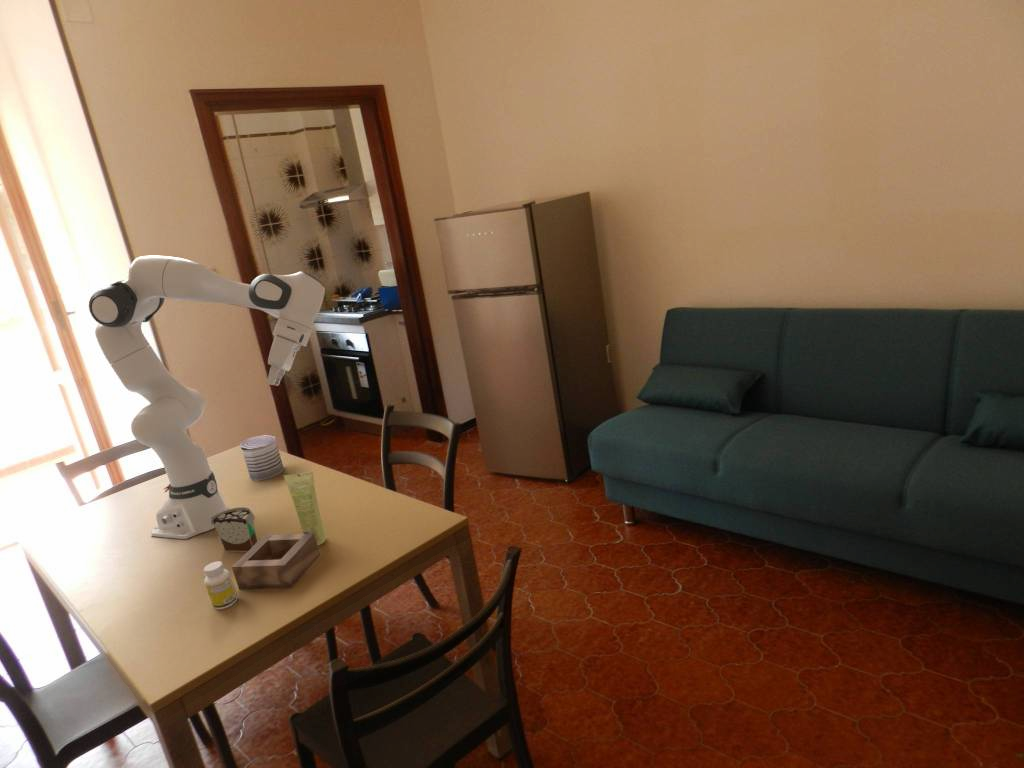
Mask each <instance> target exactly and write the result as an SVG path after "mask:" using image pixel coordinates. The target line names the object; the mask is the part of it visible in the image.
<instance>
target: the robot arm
mask: <svg viewBox="0 0 1024 768" xmlns="http://www.w3.org/2000/svg"><path fill="white" fill-rule="evenodd" d="M325 292H326V287H325V285H324V283H323V282H322V281H321V280H319V279H318V278H316V277H315V276H313V275H312V274H310V273H308V272H305V271H298V272H296V273H292V274H271V273H262V274H260V275H258V276H256V277H255V278H254V279H253V280H252V281H251V283H250V284H249V283H245V282H239V281H235V280H233V279H232V280H231V279H230V278H227V277H225V276H223V275H221V274H219V273H217V272H216V271H214V270H213V269H211V268H209V267H207V266H205V265H203V264H201V263H199V262H196V261H193V260H190V259H187V258H186V259H185V258H181V257H175V256H167V255H143V256H142V255H141V256H139V257H136V258H135V259H134V260H133V261H132V262H131V264H130V265H129V269H128V276H127V278H126V279H123V280H118V281H114V282H111V283H110V284H108V285H104V286H103V287H101V288H99V289H98V290H97V291H95V292H94V293H93V294H92V295H91V296H90V299H89V301H88V309H89V312H90V313H89V314H90V315H91V317H92V318H93V319H94V321H96V322H97V323H98V325H97V326H96V328H95V331H94V333H95V334H94V335H95V338H96V339H97V342H98V345H99V347H100V349H101V351H102V353H103V355H104V357H105V359H106V360H107V361H108V363H109V364H110V366H111V368H112V370H113V371H114V372H115V374H116V375H117V377H118V379H119V381H120V382H121V383H122V384H123V386H124V387H125V389H127V390H128V391H130V392H133V393H135V394H136V393H137V394H139V395H140V396H142V397H143V398H144V399H146V400H147V401H148V402H149V404H148V405H146V406H144V407H143V408H142V409H141V410H140V411H139V412H138V413H137V414H136V415H135V417H134V418H132V419H133V420H132V421H131V427H130V428H131V433H132V435H133V437H134V439H136V440H137V441H138V443H140V444H141V445H144V446H147V447H149V448H151V449H152V450H153V452H155V453H156V455H157V457H158V458H159V459H160V461H161V463H162V465H163V467H164V470H165V473H166V475H167V479H168V481H169V483H168V485H167V486H166V487H164V488H163V490H164V493H166V492H168V497H167V499H166V500H165V501H164V503H162V505H161V506H160V508H159V509H158V510H157V511H156V515H155V517H156V523H157V524H156V526H155V527H153V528H152V530H151V533H150V534H151V537H157V538H158V537H159V538H167V539H180V540H187V539H191V538H193V537H195V536H196V535H199V534H202V533H205V532H208V531H211V530H214V529H215V526H214V524H213V525H212V523H211V520H212V519H211V517H213V516H215V515H216V514H218V513H221V512H223V511H226V510H229V508H228V506H227V504H226V502H225V501H224V499H223V497H222V495H221V493H220V490H219V489H218V484H217V479H216V476H215V473H214V472H213V470H212V469H211V466H210V464H209V461H208V458H207V455H206V452H205V449H204V447H203V446H201V445H200V444H198V443H195V442H193V440H192V439H191V438H190V436H189V434H188V429H189V428H190V427H191V426H193V425H194V424H195V423H197V422H198V421H199V420H200V418H201V417H202V415H203V413H204V412H205V410H206V401H205V399H204V396H203V394H202V393H200V392H199V391H198V390H196V389H195V388H191V387H188V386H186V385H185V384H183V383H182V382H181V381H179V380H178V379H177V378H176V377H175V376H174V375H172V373H171V372H169V370H168V369H167V368H166V366H165V365H164V364H163V362H162V361H161V359H160V358H159V356H158V354H157V353H156V351H155V350H154V349H153V347H152V346H151V345H150V343H149V341H148V340H147V338H146V337H145V335H144V333H143V331H142V324H143V323H148V322H149V321H150V320H151V319H152V318H153V316H154V315H155V314H157V313H158V311H159V310H160V309H161V308H162V306H163V305H164V303H165V299H167V300H171V301H180V302H191V303H192V302H195V303H213V304H227V305H233V306H237V307H241V308H243V307H244V308H247V309H253V310H258V311H263V312H264V313H266V314H268V315H269V316H271V317H272V318H274V319H276V320H277V321H276V324H275V326H274V329H273V332H272V335H273V336H274V338H273V341H272V344H271V347H270V351H269V355H268V357H267V358H268V359H267V364H268V365H269V366H270V368H269V371H268V372H269V373H268V376H267V380H266V384H267V385H270V386H276V387H278V386H279V385H280V383H281V381H282V379H283V377H284V375H285V373H286V372H290V371H291V369H292V366H293V363H294V360H295V359H296V355H297V353H298V351H300V349H301V347H302V346H303V347H307V345H308V342H309V340H310V338H311V335H312V332H313V329H314V322H315V320H316V318H317V317H318V316H319V313H320V311H321V307H322V304H323V303H324V298H325V294H326V293H325Z"/></svg>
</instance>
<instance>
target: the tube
mask: <svg viewBox="0 0 1024 768" xmlns="http://www.w3.org/2000/svg"><path fill="white" fill-rule="evenodd" d="M283 479H284V481H285V483H286V486H287V488H288V491H289V494H290V498H291V500H292V503H293V505H294V508H295V511H296V514H297V517H298V521H299V524H300V527H301V530H302V534H312V533H314V535H315V539H316V542H317V546H318V547H319V546H320V545H323V544H324V543H325V542H326V540H327V539H326V534H325V529H324V525H323V521H322V517H321V512H320V511H321V510H320V507H319V503H318V502H319V501H318V498H317V493H316V485H315V479H314V472H313V471H308V472H301V473H295V474H286V475H283Z"/></svg>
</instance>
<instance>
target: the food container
mask: <svg viewBox="0 0 1024 768" xmlns="http://www.w3.org/2000/svg"><path fill="white" fill-rule="evenodd" d="M228 509H229V508H228ZM211 519H212V520H211V523H212V525H213V524H214V526H215V528H214V529H215V531H216V534H217V535H218V538H219V541H220V542H221V545H222V547H223V550H224V552H229V551H231V552H234V553H236V552H237V553H247V552H248V551H249V550H250V549H251V548H252V547H253V546H254V545H255V544H256V543H257V542H258V539H257V532H256V529H255V525H254V524H255V523H254V521H255V520H256V517H255V514H254V512H253V511H252V510H251V509H250V508H248V507H243V506H241V507H240V506H239V507H233V508H230V509H229V510H226V511H223V512H221V513H218V514H216V515H215V516H213V517H211Z"/></svg>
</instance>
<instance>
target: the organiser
mask: <svg viewBox="0 0 1024 768" xmlns="http://www.w3.org/2000/svg"><path fill="white" fill-rule="evenodd" d="M320 555H321V553H320V550H319V545H318V546H317V542H316V539H315V535H314V533H312V534H303V533H294V534H271V535H270V534H269V535H263V536H262V537H261V538H260V539H259V540H257V543H256V544H255V545H254V546H253V547H252V548H251V549H250V550H249V551H248V552H245V553H244V554H243V556H241V557H240V558H239V560H237V561H236V562H235V563H234V564H233V565H232V566H231V569H232V573H233V576H234V578H235V582H236V584H237V588H238V589H239V590H259V589H260V590H261V589H263V590H265V589H292V588H293V587H294V586H295V585H296V583H297V582H298V581H299V580H300V579H301V577H302V576H303V575H304V574H305V573H306V572H307V571H308V569H309V568H310V567H311V566H312V565H313V563H315V561H316V560H317V559H318V558H319V557H320Z"/></svg>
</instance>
